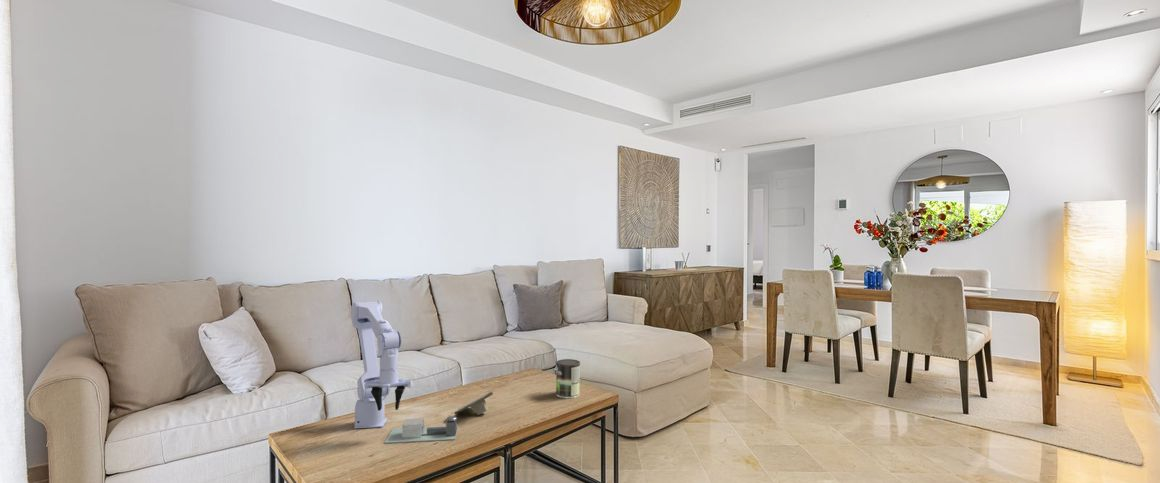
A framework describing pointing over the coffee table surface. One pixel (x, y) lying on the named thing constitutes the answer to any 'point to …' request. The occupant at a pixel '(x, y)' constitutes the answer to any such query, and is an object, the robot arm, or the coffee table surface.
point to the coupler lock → (412, 428)
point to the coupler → (445, 428)
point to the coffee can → (567, 378)
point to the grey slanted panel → (476, 405)
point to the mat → (397, 438)
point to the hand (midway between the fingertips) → (388, 409)
